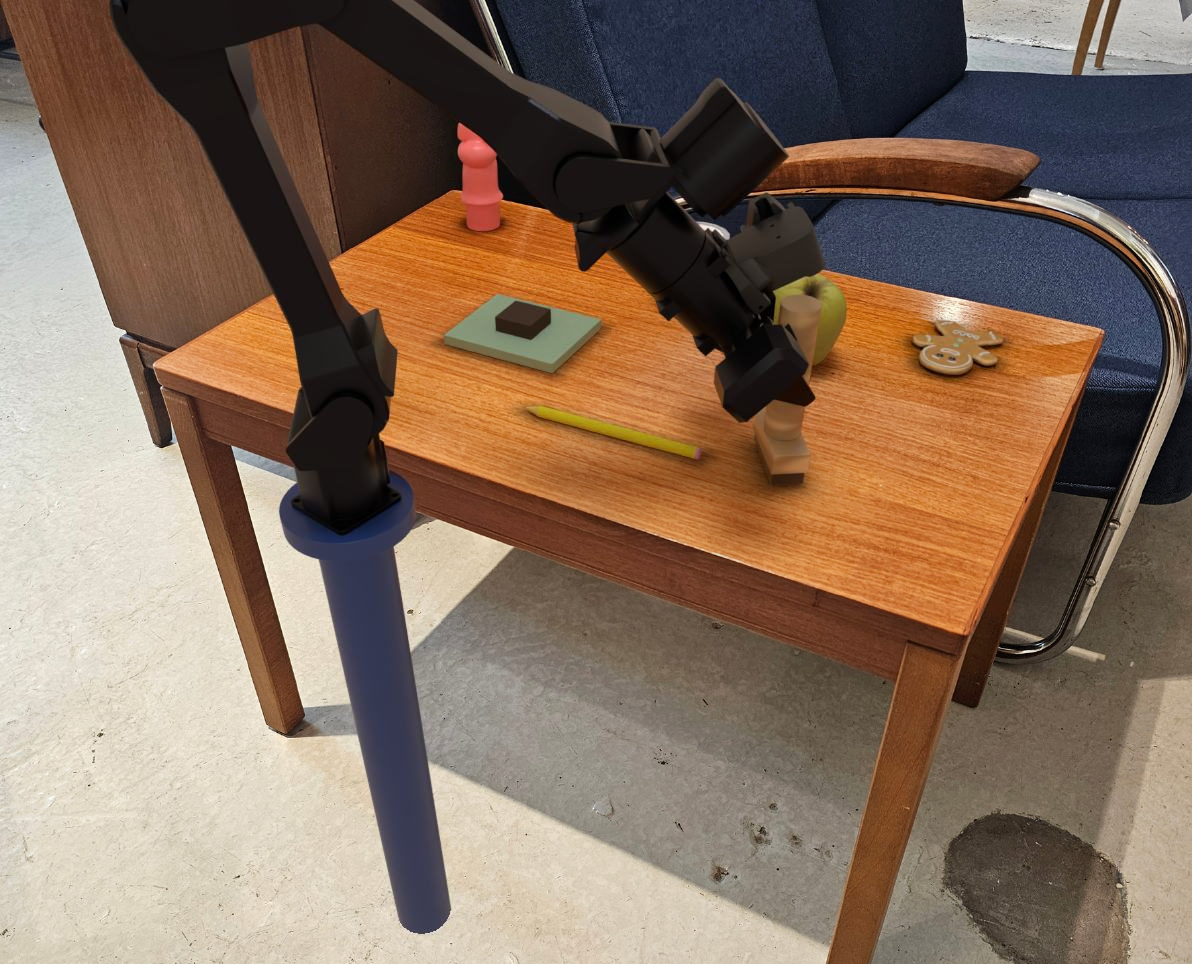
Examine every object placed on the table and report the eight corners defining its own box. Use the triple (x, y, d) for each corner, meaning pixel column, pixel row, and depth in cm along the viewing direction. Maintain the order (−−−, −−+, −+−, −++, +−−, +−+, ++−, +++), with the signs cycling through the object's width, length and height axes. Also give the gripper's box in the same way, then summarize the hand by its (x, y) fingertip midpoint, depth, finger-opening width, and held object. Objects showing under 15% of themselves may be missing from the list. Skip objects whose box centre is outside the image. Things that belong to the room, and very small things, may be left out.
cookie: (1015, 334, 102) (982, 377, 96) (1013, 343, 103) (979, 386, 96) (933, 311, 105) (895, 351, 99) (931, 320, 106) (893, 360, 100)
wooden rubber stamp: (769, 487, 84) (792, 326, 75) (750, 439, 89) (770, 283, 80) (805, 485, 84) (833, 324, 75) (785, 437, 89) (809, 281, 80)
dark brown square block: (531, 340, 101) (530, 326, 100) (495, 331, 102) (494, 316, 101) (551, 322, 103) (551, 308, 102) (516, 314, 105) (515, 299, 104)
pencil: (701, 456, 88) (702, 445, 87) (696, 462, 87) (697, 451, 87) (527, 409, 93) (527, 399, 93) (522, 414, 93) (522, 405, 92)
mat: (552, 373, 98) (552, 364, 97) (444, 344, 102) (443, 334, 101) (601, 328, 105) (601, 319, 104) (498, 302, 109) (497, 293, 108)
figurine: (455, 231, 122) (443, 94, 112) (466, 214, 126) (456, 79, 116) (498, 235, 121) (490, 97, 111) (508, 217, 125) (501, 82, 115)
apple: (745, 324, 103) (788, 233, 96) (820, 355, 103) (868, 265, 97) (736, 365, 97) (782, 270, 90) (816, 396, 98) (867, 305, 91)
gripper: (796, 233, 64) (932, 385, 72) (735, 130, 78) (855, 267, 86) (661, 354, 68) (803, 484, 77) (627, 237, 82) (750, 358, 91)
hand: (805, 390), depth 82 cm, fingers closed on wooden rubber stamp, 3 cm apart
